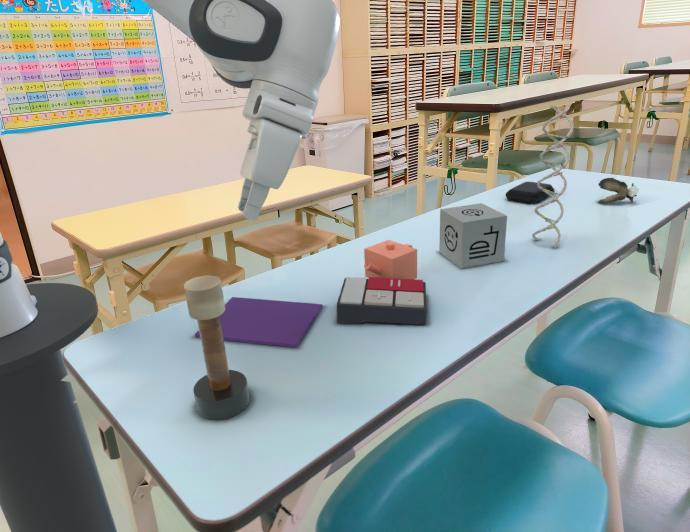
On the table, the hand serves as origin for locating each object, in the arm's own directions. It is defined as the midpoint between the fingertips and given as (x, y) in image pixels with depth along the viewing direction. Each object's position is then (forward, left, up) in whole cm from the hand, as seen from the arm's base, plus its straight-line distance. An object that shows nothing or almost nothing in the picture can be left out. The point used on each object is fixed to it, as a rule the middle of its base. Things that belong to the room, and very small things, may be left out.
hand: (246, 215), depth 70 cm
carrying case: (+43, +95, -24) cm, 107 cm away
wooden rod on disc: (-2, -10, -23) cm, 26 cm away
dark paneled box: (+14, +20, -24) cm, 34 cm away
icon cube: (+28, +47, -24) cm, 59 cm away
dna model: (+44, +57, -24) cm, 76 cm away
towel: (-6, +12, -23) cm, 27 cm away
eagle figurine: (+65, +92, -24) cm, 115 cm away
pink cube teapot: (+13, +31, -24) cm, 41 cm away
